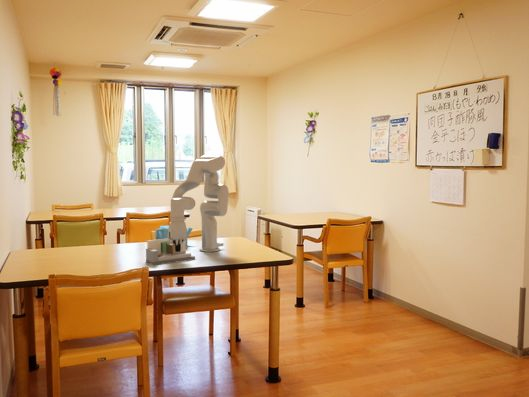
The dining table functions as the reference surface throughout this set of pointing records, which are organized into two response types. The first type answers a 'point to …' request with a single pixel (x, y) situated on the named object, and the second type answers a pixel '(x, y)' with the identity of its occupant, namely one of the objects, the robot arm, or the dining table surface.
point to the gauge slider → (168, 250)
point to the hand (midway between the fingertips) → (177, 251)
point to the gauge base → (155, 249)
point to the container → (164, 233)
